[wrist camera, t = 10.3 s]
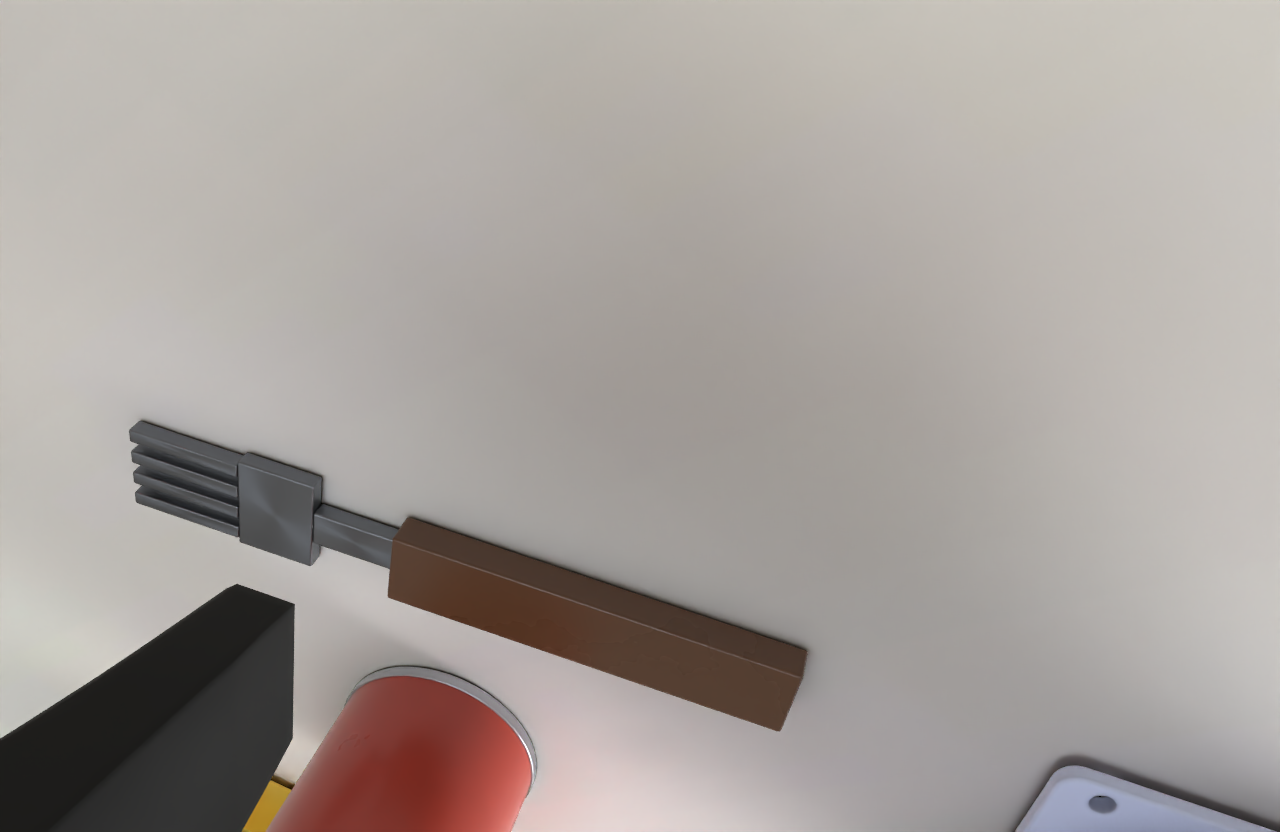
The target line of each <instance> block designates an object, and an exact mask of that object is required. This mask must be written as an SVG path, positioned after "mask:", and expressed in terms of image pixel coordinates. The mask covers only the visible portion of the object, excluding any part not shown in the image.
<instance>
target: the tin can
mask: <svg viewBox="0 0 1280 832" xmlns="http://www.w3.org/2000/svg"><path fill="white" fill-rule="evenodd" d="M536 770H537V763H536V755H535V751H534V747H533V745H532V743H531V740H530V738H529V736H528V735H527V733H526V731H525V729H524V728H523V727H522V725H521V724H520V723H519V721H518V720H517V719H516V718H515V717H514V716H513V715H512V713H511V712H510V711H509V710H508V709H507V708H505V707H504V706H503V705H502V704H501V703H500V702H499V701H497V700H496V699H495V698H493V697H492V696H491V695H489V694H488V693H486V692H485V691H483V690H481V689H480V688H478V687H477V686H475V685H473V684H471V683H469V682H467V681H465V680H463V679H460V678H458V677H455V676H453V675H450V674H447V673H444V672H440V671H437V670H432V669H427V668H420V667H393V668H387V669H383V670H379V671H377V672H374V673H372V674H370V675H368V676H367V677H365V678H364V679H362V680H361V681H360V682H359V683H358V684H357V685H356V686H355V687H354V689H353V691H352V692H351V694H350V695H349V697H348V698H347V700H346V703H345V706H344V708H343V710H342V712H341V713H340V715H339V716H338V718H337V719H336V721H335V723H334V724H333V726H332V727H331V729H330V730H329V732H328V734H327V735H326V737H325V738H324V740H323V741H322V743H321V745H320V746H319V748H318V749H317V751H316V752H315V754H314V756H313V757H312V759H311V760H310V762H309V764H308V765H307V767H306V768H305V770H304V771H303V773H302V775H301V776H300V778H299V779H298V781H297V782H296V784H295V786H294V787H293V789H292V790H291V792H290V793H289V795H288V797H287V798H286V800H285V801H284V803H283V804H282V806H281V808H280V809H279V811H278V812H277V814H276V815H275V817H274V819H273V820H272V822H271V823H270V825H269V827H268V828H267V830H266V831H265V832H511V830H512V828H513V825H514V823H515V821H516V818H517V816H518V814H519V811H520V809H521V806H522V804H523V802H524V800H525V798H526V797H527V795H528V794H529V792H530V790H531V788H532V785H533V783H534V780H535V777H536Z"/></svg>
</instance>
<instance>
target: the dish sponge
mask: <svg viewBox="0 0 1280 832" xmlns="http://www.w3.org/2000/svg"><path fill="white" fill-rule="evenodd" d="M290 792H291V789H288V788H286V787H284V786H282V785H280V784H278V783H275V782H273V781H271V780H270V782H269V783H268V785H267V787H266V789H265V791H264V793H263V795H262V796H261V798H260V800H259V802H258V803H257V805H256V807H255V809H254V811H253V812H252V814H251V816H250V818H249V819H248V821H247V823H246V825H245V827H244V828H243V830H242V832H265V831H266V830H267V828H268V827H269V825H270V823H271V822H272V820H273V819H274V817H275V815H276V814H277V812H278V811H279V809H280V808H281V806H282V804H283V803H284V801H285V800H286V798H287V797H288V795H289V793H290Z"/></svg>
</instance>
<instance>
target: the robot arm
mask: <svg viewBox="0 0 1280 832" xmlns="http://www.w3.org/2000/svg"><path fill="white" fill-rule="evenodd" d="M294 610H295V604H293V603H290V602H287V601H285V600H282V599H279V598H276V597H273V596H270V595H267V594H264V593H262V592H259V591H256V590H253V589H250V588H247V587H244V586H241V585H239V584H236V585H234V586H231V587H229V588H227V589H225V590H224V591H222V592H221V593H219V594H218V595H217V596H215V597H214V598H212V599H211V600H209V601H208V602H206V603H205V604H204V605H202V606H201V607H199V608H198V609H196V610H195V611H193V612H192V613H191V614H189V615H188V616H186V617H185V618H183V619H182V620H180V621H179V622H178V623H176V624H175V625H173V626H172V627H170V628H169V629H167V630H166V631H164V632H163V633H162V634H160V635H159V636H157V637H156V638H154V639H153V640H151V641H150V642H148V643H147V644H145V645H144V646H143V647H141V648H140V649H138V650H137V651H135V652H134V653H132V654H131V655H129V656H128V657H126V658H125V659H123V660H122V661H120V662H119V663H117V664H116V665H114V666H113V667H111V668H110V669H108V670H107V671H105V672H104V673H102V674H101V675H99V676H98V677H96V678H95V679H93V680H92V681H90V682H89V683H87V684H86V685H84V686H82V687H81V688H79V689H78V690H76V691H75V692H73V693H71V694H70V695H68V696H67V697H65V698H64V699H62V700H60V701H59V702H57V703H56V704H54V705H53V706H51V707H50V708H48V709H46V710H45V711H43V712H42V713H40V714H39V715H37V716H35V717H34V718H32V719H31V720H29V721H28V722H26V723H25V724H23V725H21V726H20V727H18V728H17V729H15V730H13V731H12V732H10V733H9V734H7V735H5V736H4V737H2V738H0V832H242V830H243V828H244V827H245V825H246V823H247V821H248V819H249V818H250V816H251V814H252V812H253V811H254V809H255V807H256V805H257V803H258V802H259V800H260V798H261V796H262V795H263V793H264V791H265V789H266V787H267V785H268V783H269V782H270V780H271V778H272V776H273V774H274V772H275V770H276V769H277V767H278V765H279V763H280V761H281V759H282V757H283V755H284V754H285V752H286V750H287V748H288V746H289V744H290V742H291V740H292V739H293V676H294ZM1100 795H1101V796H1107V797H1104V798H1101V797H1095V796H1100ZM1015 832H1277V831H1274V830H1271V829H1268V828H1265V827H1262V826H1259V825H1256V824H1253V823H1250V822H1247V821H1244V820H1241V819H1238V818H1235V817H1232V816H1229V815H1226V814H1223V813H1220V812H1217V811H1214V810H1211V809H1208V808H1205V807H1202V806H1199V805H1196V804H1194V803H1191V802H1188V801H1185V800H1182V799H1179V798H1176V797H1173V796H1170V795H1167V794H1164V793H1161V792H1158V791H1155V790H1152V789H1149V788H1146V787H1143V786H1140V785H1137V784H1134V783H1131V782H1128V781H1125V780H1122V779H1119V778H1116V777H1114V776H1111V775H1108V774H1105V773H1102V772H1099V771H1096V770H1093V769H1090V768H1087V767H1082V766H1077V765H1075V766H1066V767H1063V768H1061V769H1058V770H1057V771H1056V772H1055V773H1054V774H1053V775H1052V776H1051V778H1050V779H1049V781H1048V782H1047V784H1046V785H1045V787H1044V788H1043V790H1042V791H1041V793H1040V794H1039V796H1038V797H1037V799H1036V800H1035V802H1034V803H1033V805H1032V806H1031V808H1030V809H1029V811H1028V812H1027V814H1026V815H1025V817H1024V818H1023V820H1022V821H1021V823H1020V824H1019V826H1018V827H1017V829H1016V831H1015Z"/></svg>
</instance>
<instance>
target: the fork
mask: <svg viewBox="0 0 1280 832" xmlns="http://www.w3.org/2000/svg"><path fill="white" fill-rule="evenodd" d="M129 434H130V441H131V442H134V443H137V444H139V445H138V446H137V447H135V448H134V449H133V450H132V451H131V455H132V462H133V463H136V464H139V465H140V466H139V467H138V468H137V469H136V470H135V471H134V472H133V476H134V482H135V483H137V484H140V485H142V486H141V487H140V488H139V489H138V490H137V491H136V492H135V497H136V502H137V503H139V504H142V505H145V506H148V507H151V508H154V509H156V510H159V511H162V512H165V513H168V514H171V515H174V516H177V517H180V518H183V519H186V520H189V521H191V522H194V523H197V524H200V525H203V526H206V527H209V528H212V529H215V530H218V531H221V532H223V533H226V534H229V535H232V536H235V537H239V536H240V542H241V543H244V544H247V545H250V546H253V547H256V548H259V549H261V550H264V551H267V552H270V553H273V554H276V555H279V556H282V557H285V558H288V559H291V560H293V561H296V562H299V563H302V564H305V565H308V566H312V565H313V563H314V562H315V561H316V560H317V558H318V557H319V545H321V546H324V547H327V548H330V549H333V550H336V551H338V552H341V553H344V554H347V555H350V556H353V557H356V558H359V559H362V560H365V561H368V562H371V563H374V564H377V565H380V566H382V567H385V568H388V569H390V573H389V585H388V597H389V598H391V599H394V600H397V601H400V602H403V603H405V604H408V605H411V606H414V607H417V608H420V609H423V610H426V611H429V612H432V613H435V614H437V615H440V616H443V617H446V618H449V619H452V620H455V621H458V622H461V623H464V624H467V625H469V626H472V627H475V628H478V629H481V630H484V631H487V632H490V633H493V634H496V635H499V636H501V637H504V638H507V639H510V640H513V641H516V642H519V643H522V644H525V645H528V646H531V647H533V648H536V649H539V650H542V651H545V652H548V653H551V654H554V655H557V656H560V657H563V658H565V659H568V660H571V661H574V662H577V663H580V664H583V665H586V666H589V667H592V668H595V669H597V670H600V671H603V672H606V673H609V674H612V675H615V676H618V677H621V678H624V679H627V680H629V681H632V682H635V683H638V684H641V685H644V686H647V687H650V688H653V689H656V690H659V691H661V692H664V693H667V694H670V695H673V696H676V697H679V698H682V699H685V700H688V701H691V702H693V703H696V704H699V705H702V706H705V707H708V708H711V709H714V710H717V711H720V712H723V713H725V714H728V715H731V716H734V717H737V718H740V719H743V720H746V721H749V722H752V723H755V724H757V725H760V726H763V727H766V728H769V729H772V730H775V731H781V729H782V727H783V725H784V722H785V720H786V717H787V715H788V713H789V710H790V708H791V705H792V703H793V701H794V698H795V696H796V693H797V691H798V689H799V686H800V684H801V681H802V679H803V676H804V670H805V665H806V660H807V655H808V654H807V651H806V650H803V649H800V648H797V647H794V646H791V645H788V644H785V643H782V642H779V641H776V640H773V639H770V638H767V637H764V636H761V635H758V634H755V633H752V632H749V631H747V630H744V629H741V628H738V627H735V626H732V625H729V624H726V623H723V622H720V621H717V620H714V619H711V618H708V617H705V616H702V615H699V614H696V613H693V612H690V611H687V610H684V609H681V608H678V607H675V606H672V605H669V604H666V603H663V602H660V601H657V600H654V599H651V598H648V597H645V596H642V595H639V594H636V593H633V592H630V591H627V590H624V589H621V588H618V587H615V586H612V585H609V584H606V583H603V582H600V581H597V580H594V579H591V578H588V577H585V576H582V575H579V574H576V573H573V572H570V571H567V570H564V569H562V568H559V567H556V566H553V565H550V564H547V563H544V562H541V561H538V560H535V559H532V558H529V557H526V556H523V555H520V554H517V553H514V552H511V551H508V550H505V549H502V548H499V547H496V546H493V545H490V544H487V543H484V542H481V541H478V540H475V539H472V538H469V537H466V536H463V535H460V534H457V533H454V532H451V531H448V530H445V529H442V528H439V527H436V526H433V525H430V524H427V523H424V522H421V521H418V520H415V519H412V518H407V519H406V520H405V522H404V523H403V524H402V526H401V527H400V529H396V528H393V527H390V526H387V525H384V524H381V523H378V522H375V521H372V520H369V519H366V518H363V517H360V516H357V515H355V514H352V513H349V512H346V511H343V510H340V509H337V508H334V507H331V506H328V505H325V504H321V483H322V478H321V477H320V476H317V475H314V474H311V473H308V472H305V471H302V470H299V469H296V468H293V467H290V466H287V465H284V464H281V463H278V462H275V461H272V460H269V459H266V458H263V457H260V456H257V455H254V454H251V453H246V454H245V455H244V456H243V455H240V454H237V453H234V452H231V451H228V450H225V449H222V448H220V447H217V446H214V445H211V444H208V443H205V442H202V441H199V440H196V439H193V438H190V437H187V436H184V435H181V434H178V433H175V432H172V431H169V430H166V429H163V428H160V427H157V426H154V425H151V424H148V423H145V422H142V421H139V422H138V423H137V424H135V425H134V426H133V427H132V428H131V429H130V430H129Z"/></svg>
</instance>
